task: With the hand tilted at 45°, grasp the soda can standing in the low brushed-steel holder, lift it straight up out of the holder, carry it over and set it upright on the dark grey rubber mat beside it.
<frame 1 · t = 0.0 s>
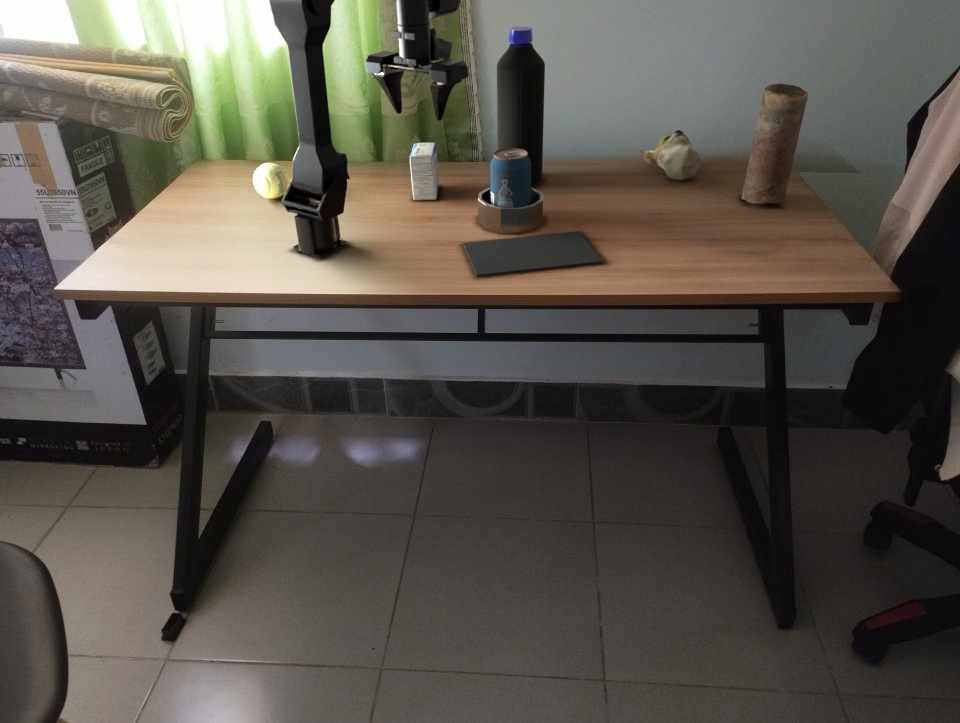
hand: (419, 116, 134), 15 cm above the table, tool pointing down, fingers open, 9 cm apart
bottle: (519, 181, 147), on the table
steel holder: (510, 220, 131), on the table
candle: (762, 202, 136), on the table
ceramic sculpture: (672, 173, 150), on the table
tennis ball: (273, 198, 143), on the table
rubber mat: (530, 253, 119), on the table
soda can: (510, 221, 131), resting in steel holder
medicine box: (426, 194, 143), on the table
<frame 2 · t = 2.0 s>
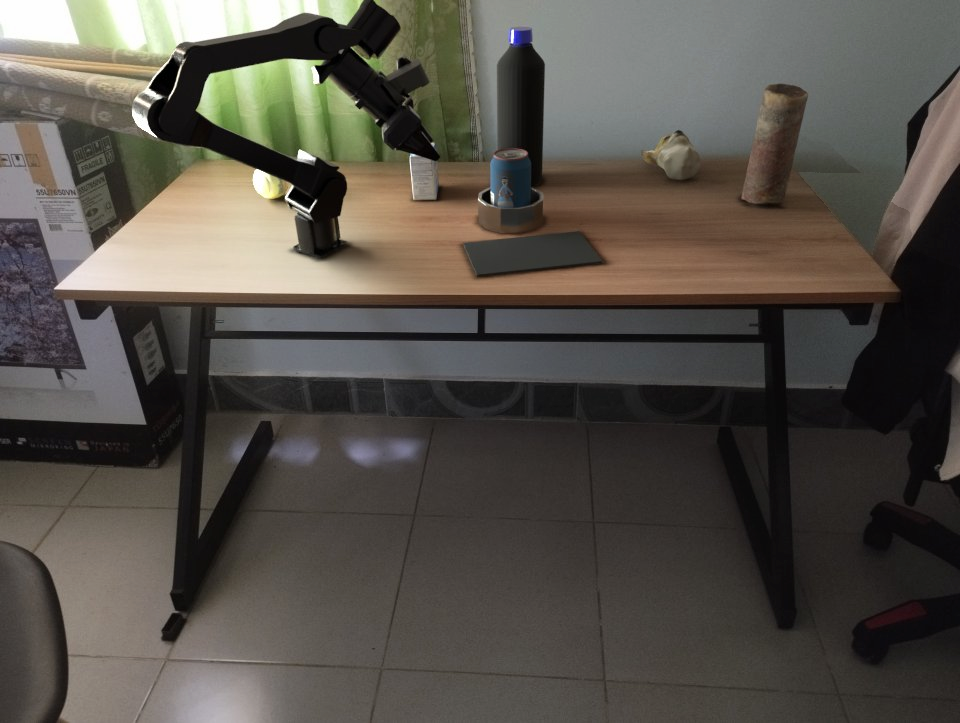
hand: (434, 150, 122), 13 cm above the table, tool tilted 45°, fingers open, 9 cm apart
nothing on the table moved.
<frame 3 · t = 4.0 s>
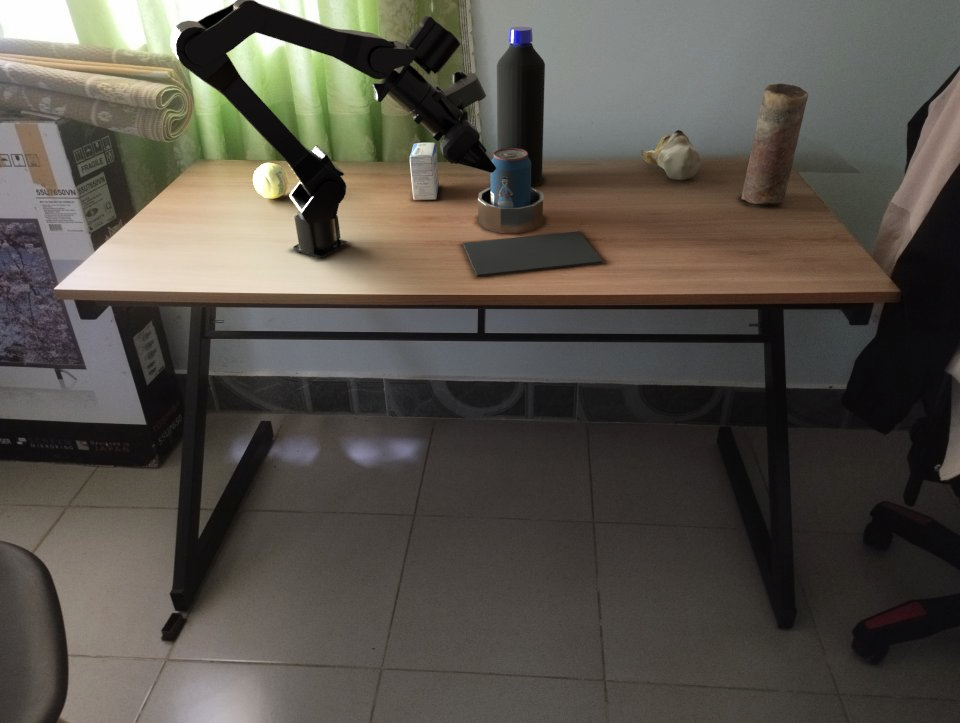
hand: (489, 161, 124), 11 cm above the table, tool tilted 45°, fingers open, 9 cm apart
nothing on the table moved.
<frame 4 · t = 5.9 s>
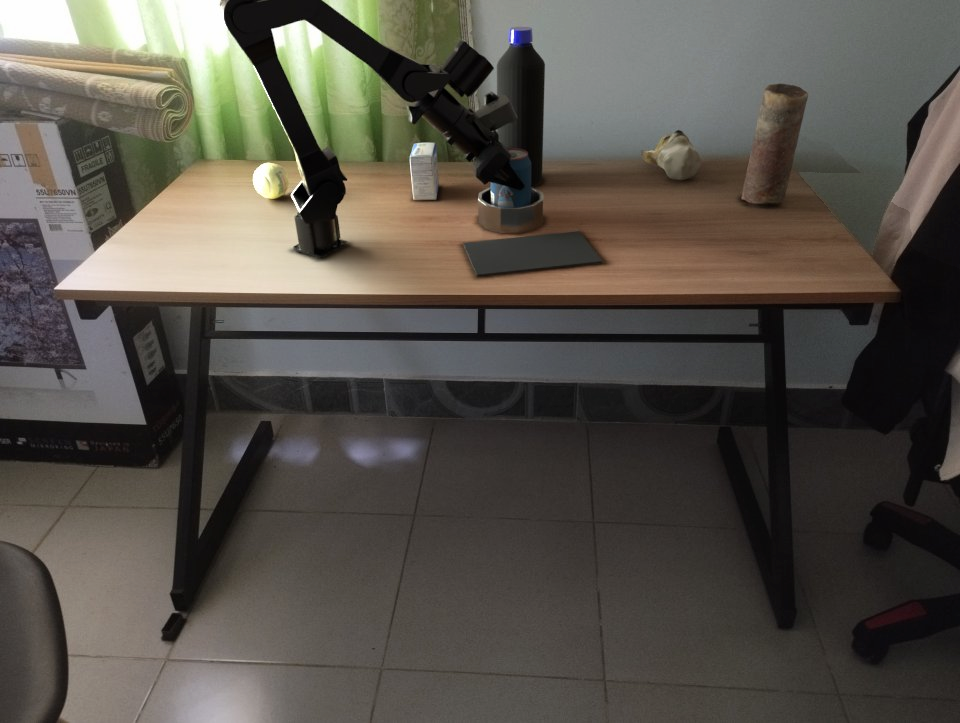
hand: (518, 180, 127), 7 cm above the table, tool tilted 45°, fingers closed on soda can, 7 cm apart
soda can: (510, 221, 131), resting in steel holder, touching gripper
everything else where it was.
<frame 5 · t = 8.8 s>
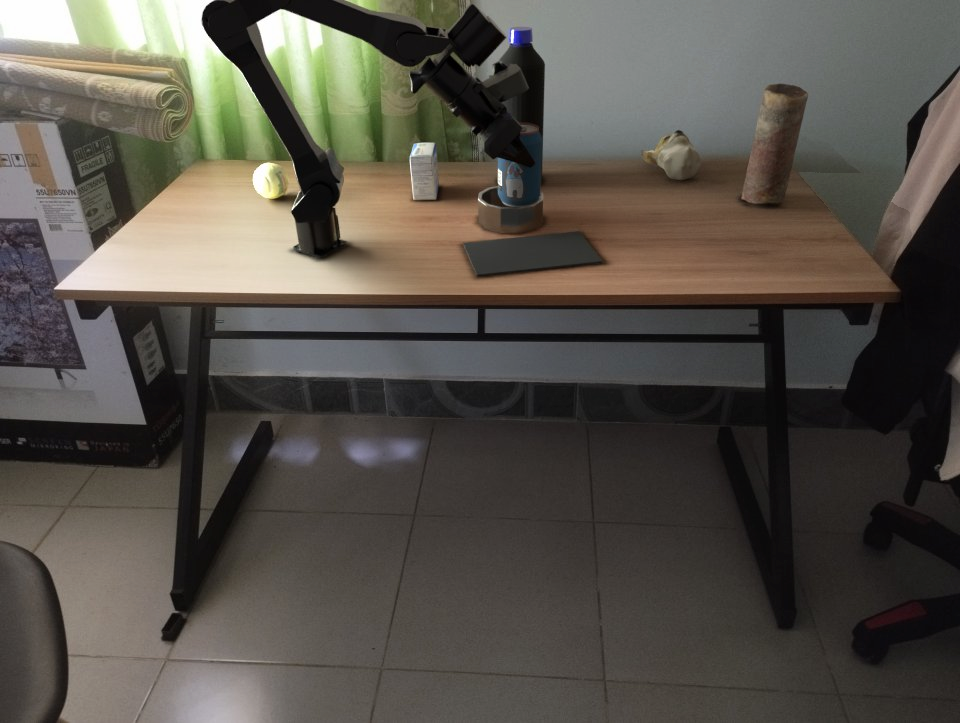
hand: (528, 157, 118), 13 cm above the table, tool tilted 45°, fingers closed on soda can, 7 cm apart
soda can: (518, 202, 122), point 6 cm above the table, touching gripper
everything else where it was.
when the fingers open (8 cm above the table, at t = 12.1 s): soda can stays where it is, resting on rubber mat.
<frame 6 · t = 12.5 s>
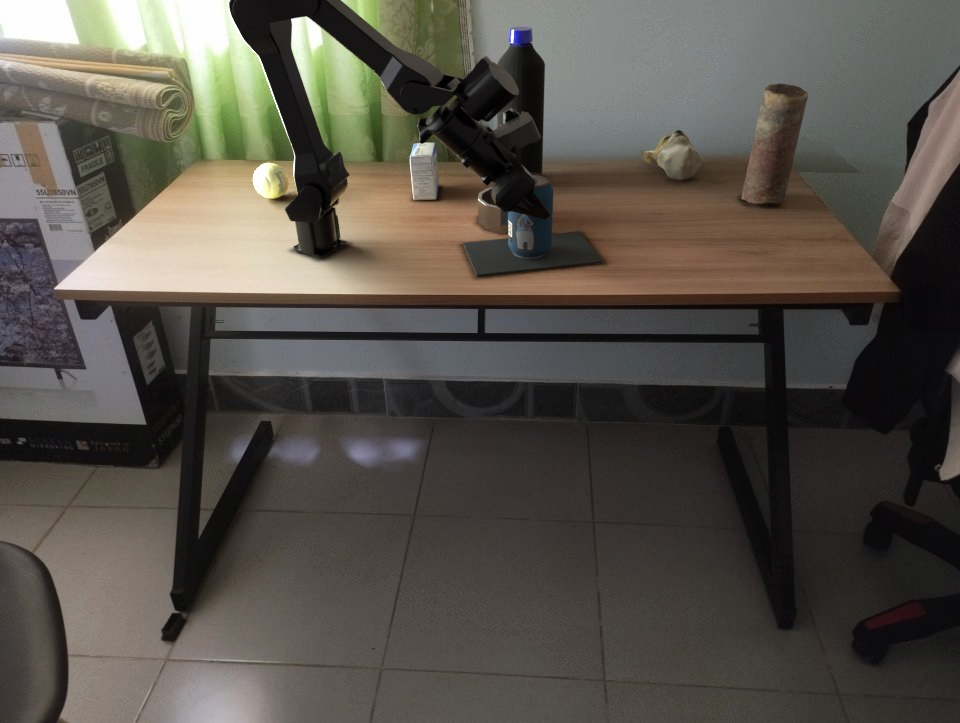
hand: (540, 205, 115), 8 cm above the table, tool tilted 45°, fingers open, 9 cm apart
soda can: (529, 252, 119), resting on rubber mat
everything else where it was.
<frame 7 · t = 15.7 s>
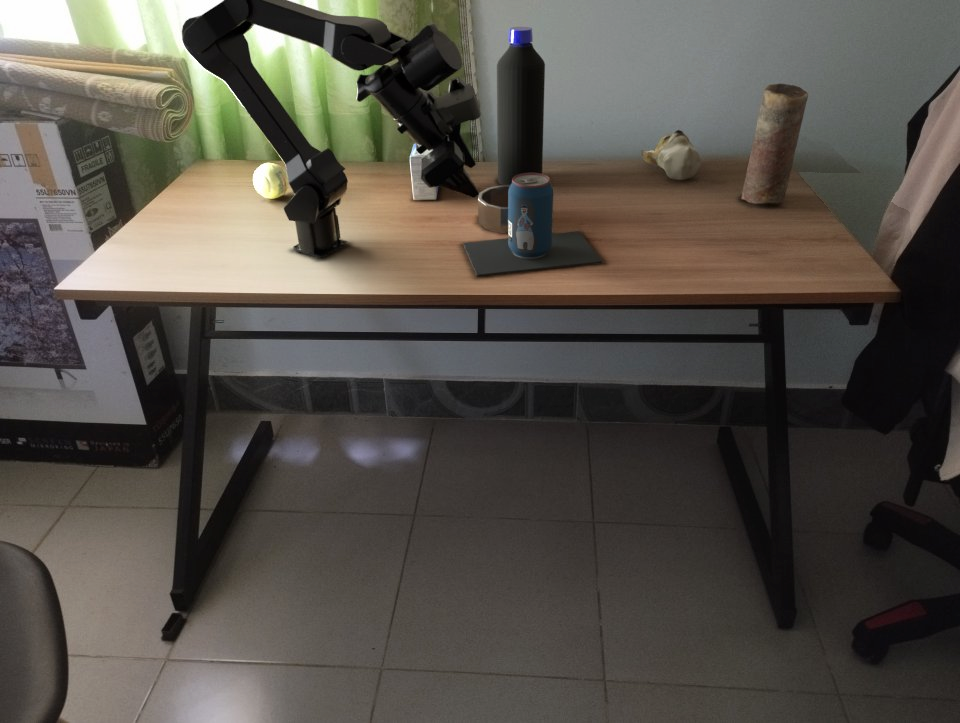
hand: (475, 180, 114), 12 cm above the table, tool tilted 40°, fingers open, 9 cm apart
nothing on the table moved.
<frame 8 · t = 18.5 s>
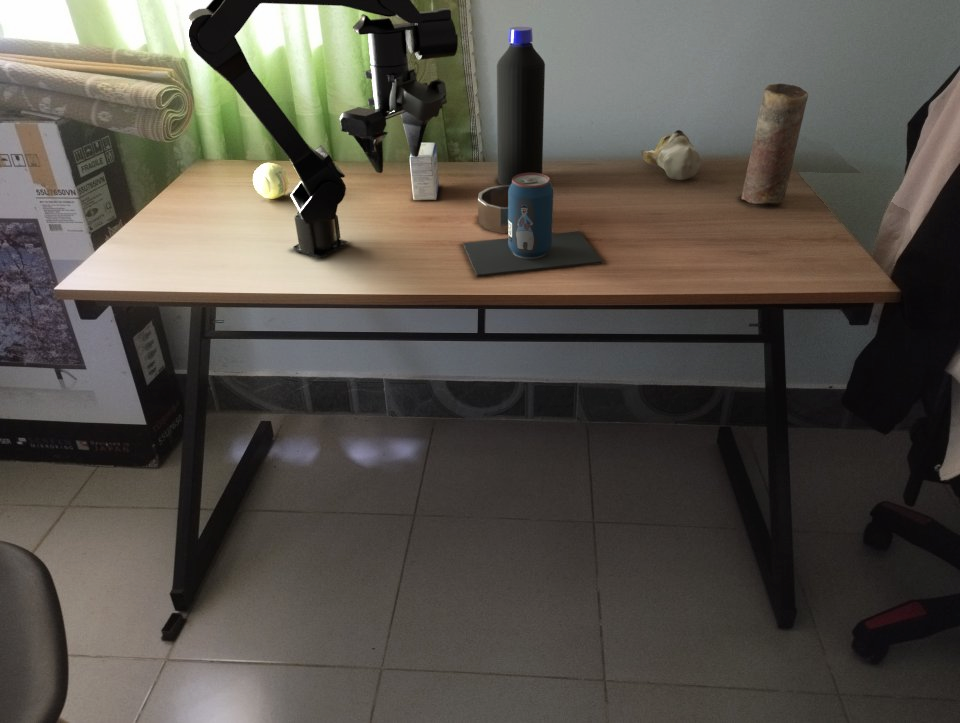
hand: (397, 164, 121), 12 cm above the table, tool pointing down, fingers open, 9 cm apart
nothing on the table moved.
at the end: soda can 0.2 cm off-centre on the rubber mat, point 0.2 cm above the rubber mat's base; soda can tilted 0°; soda can touching rubber mat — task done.
